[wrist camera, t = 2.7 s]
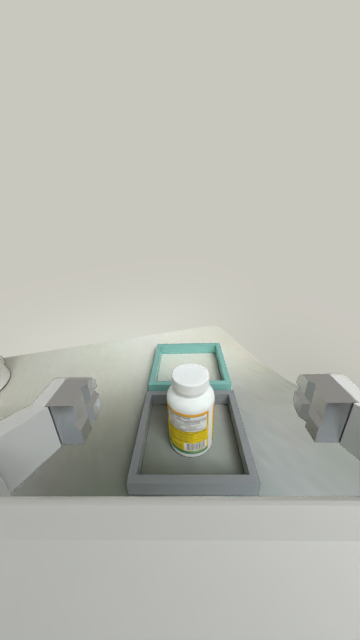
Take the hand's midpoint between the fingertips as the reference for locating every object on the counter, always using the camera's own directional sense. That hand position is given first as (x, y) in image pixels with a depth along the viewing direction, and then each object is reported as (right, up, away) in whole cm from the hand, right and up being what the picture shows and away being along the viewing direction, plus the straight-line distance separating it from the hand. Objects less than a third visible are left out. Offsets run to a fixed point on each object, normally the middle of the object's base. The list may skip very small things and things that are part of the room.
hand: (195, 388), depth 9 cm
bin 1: (+1, -6, +31) cm, 32 cm away
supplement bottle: (+1, -12, +18) cm, 22 cm away
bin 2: (+1, -12, +18) cm, 22 cm away
